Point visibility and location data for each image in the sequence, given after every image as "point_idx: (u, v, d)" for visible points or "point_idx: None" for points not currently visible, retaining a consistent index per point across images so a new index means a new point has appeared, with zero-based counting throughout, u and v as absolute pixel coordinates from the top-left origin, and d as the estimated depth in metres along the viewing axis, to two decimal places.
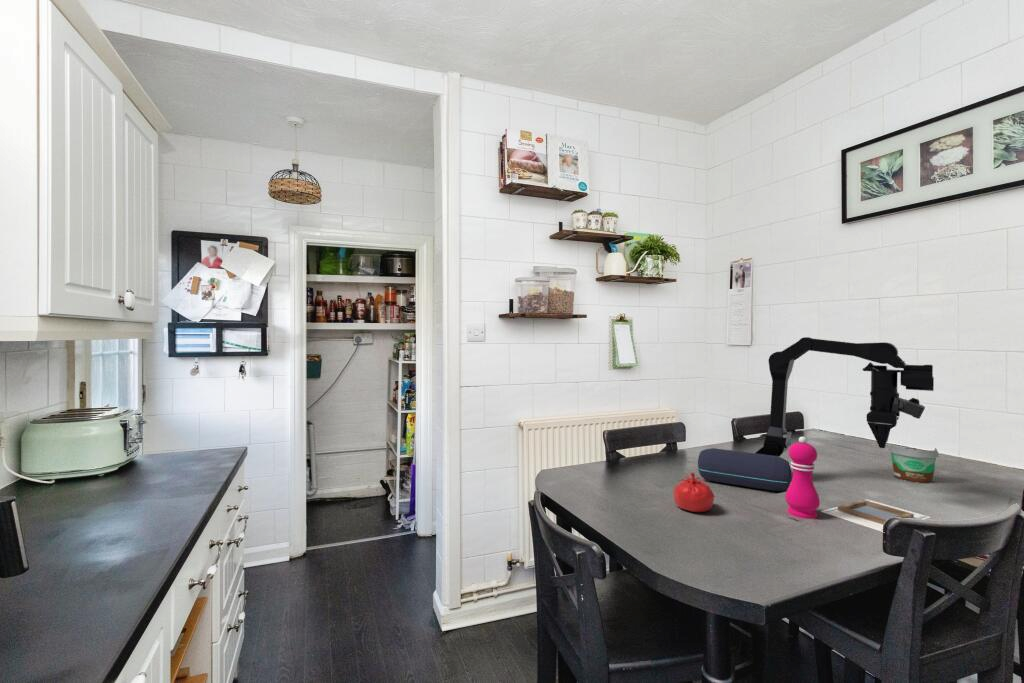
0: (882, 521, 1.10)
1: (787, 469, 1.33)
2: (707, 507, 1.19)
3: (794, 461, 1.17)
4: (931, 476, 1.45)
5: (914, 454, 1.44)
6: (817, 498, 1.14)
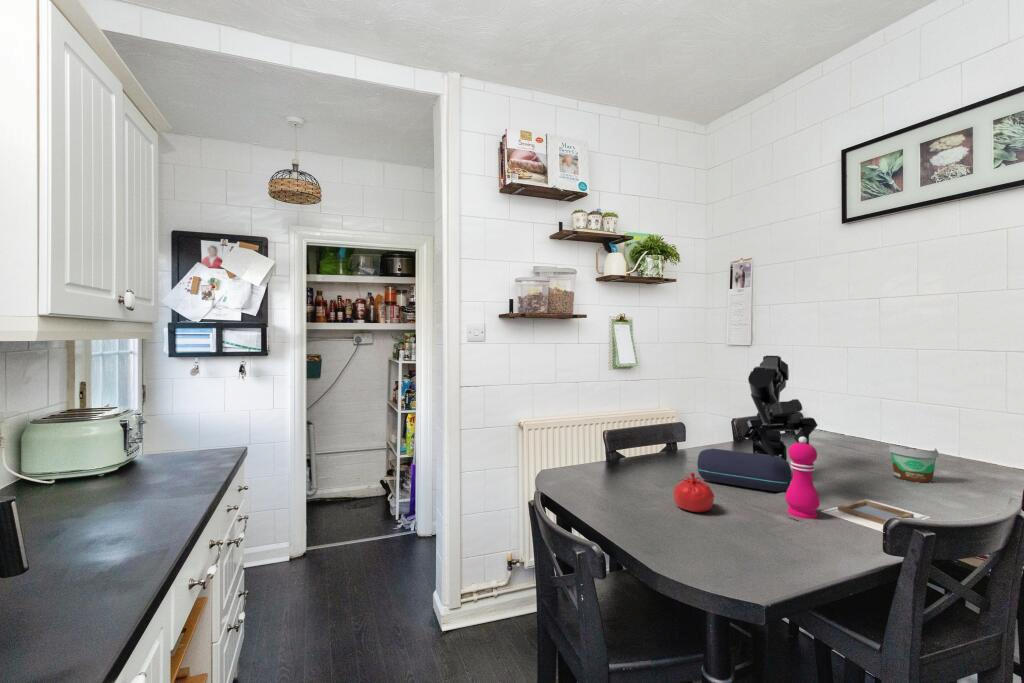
0: (882, 521, 1.10)
1: (787, 469, 1.33)
2: (707, 507, 1.19)
3: (794, 461, 1.17)
4: (931, 476, 1.45)
5: (914, 454, 1.44)
6: (817, 498, 1.14)
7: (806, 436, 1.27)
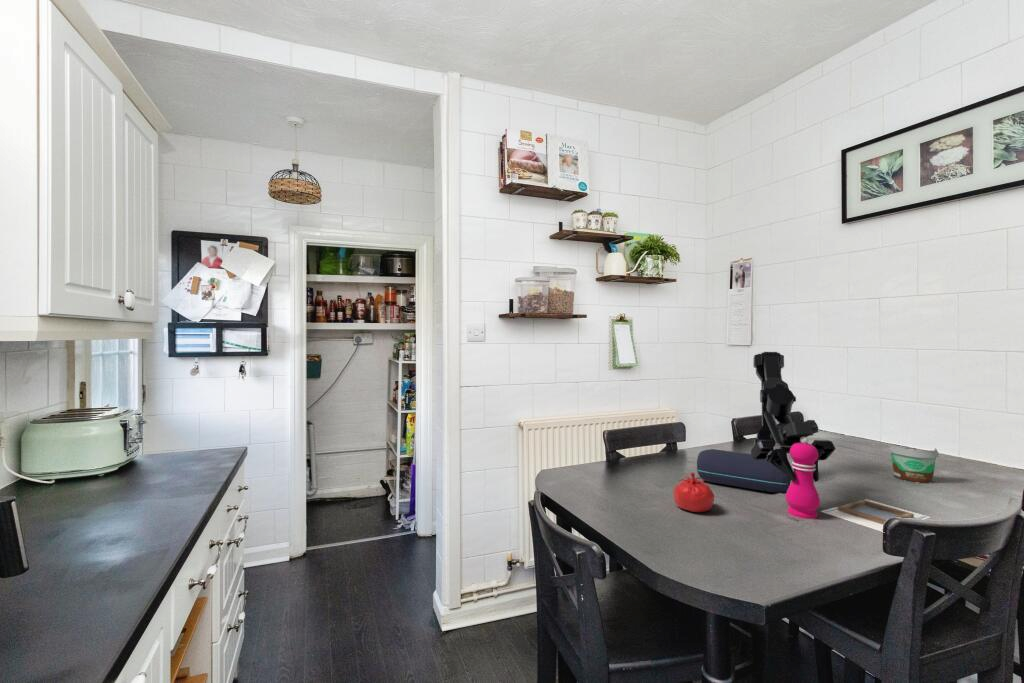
0: (882, 521, 1.10)
1: None
2: (707, 507, 1.19)
3: (795, 461, 1.17)
4: (931, 476, 1.45)
5: (914, 454, 1.44)
6: (817, 498, 1.14)
7: None
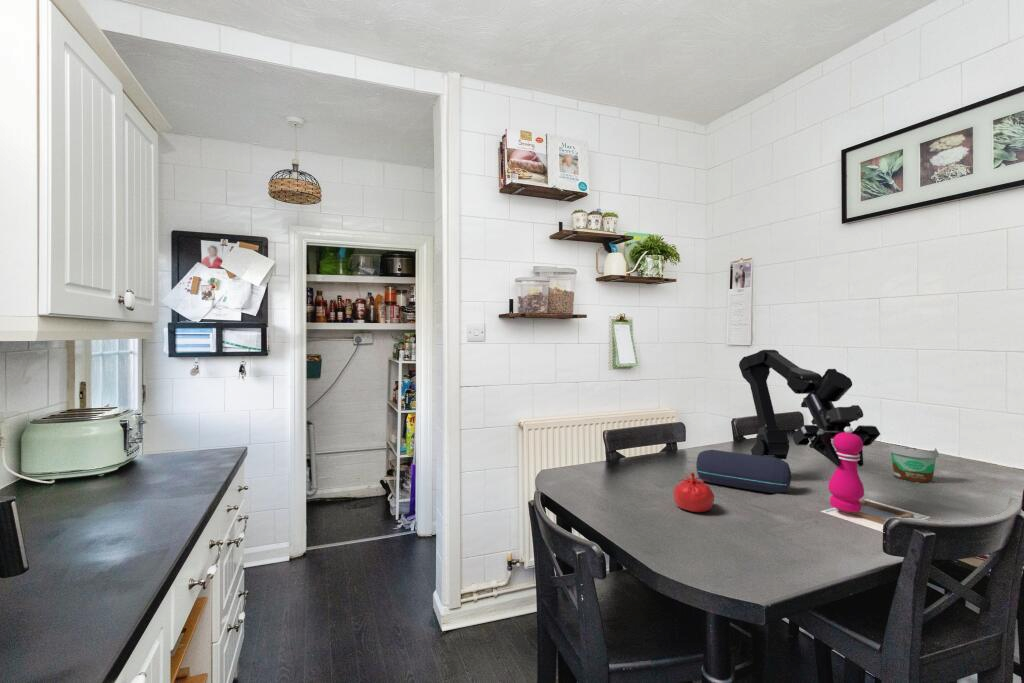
0: (882, 521, 1.10)
1: (786, 471, 1.31)
2: (707, 507, 1.19)
3: (839, 451, 1.16)
4: (931, 476, 1.45)
5: (914, 454, 1.44)
6: (862, 488, 1.14)
7: None
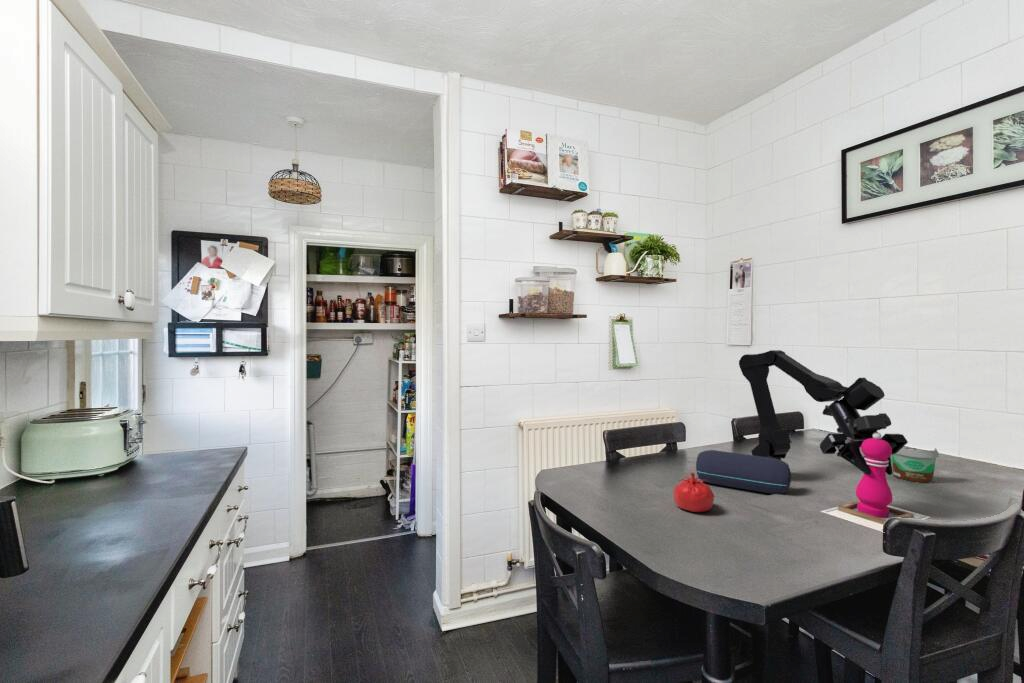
0: (882, 521, 1.10)
1: (786, 472, 1.31)
2: (707, 507, 1.19)
3: (867, 456, 1.16)
4: (931, 476, 1.45)
5: (914, 454, 1.44)
6: (890, 494, 1.14)
7: None
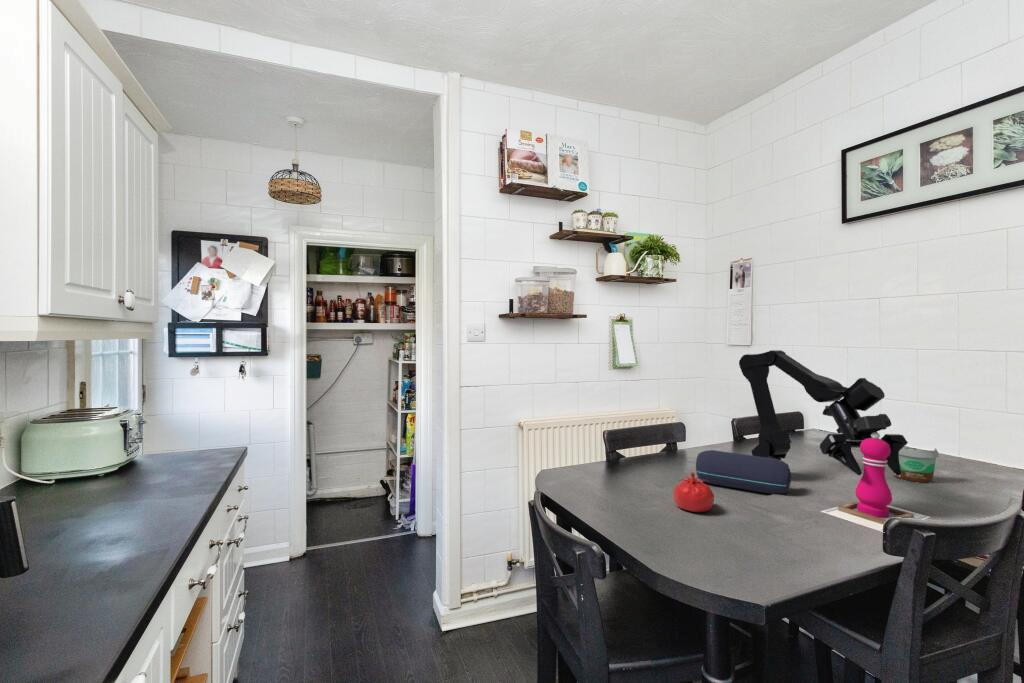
0: (882, 521, 1.10)
1: (786, 472, 1.30)
2: (707, 507, 1.19)
3: (866, 456, 1.17)
4: (931, 476, 1.45)
5: (914, 454, 1.44)
6: (890, 493, 1.14)
7: (895, 455, 1.17)
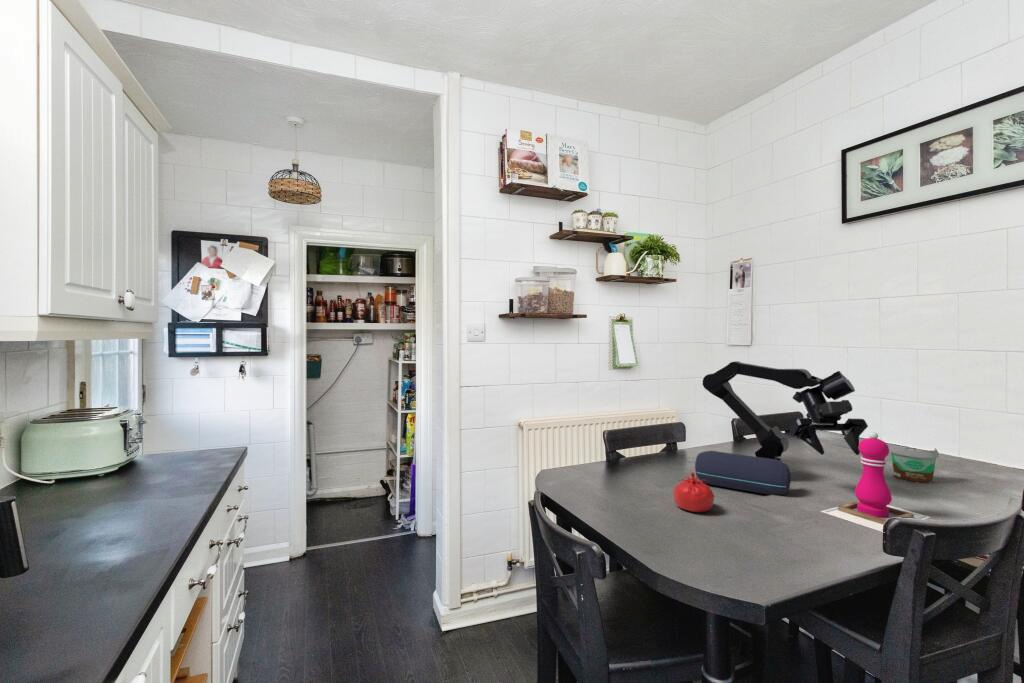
0: (882, 521, 1.10)
1: (786, 473, 1.29)
2: (707, 507, 1.19)
3: (865, 456, 1.17)
4: (931, 476, 1.45)
5: (914, 454, 1.44)
6: (889, 493, 1.14)
7: (856, 436, 1.30)
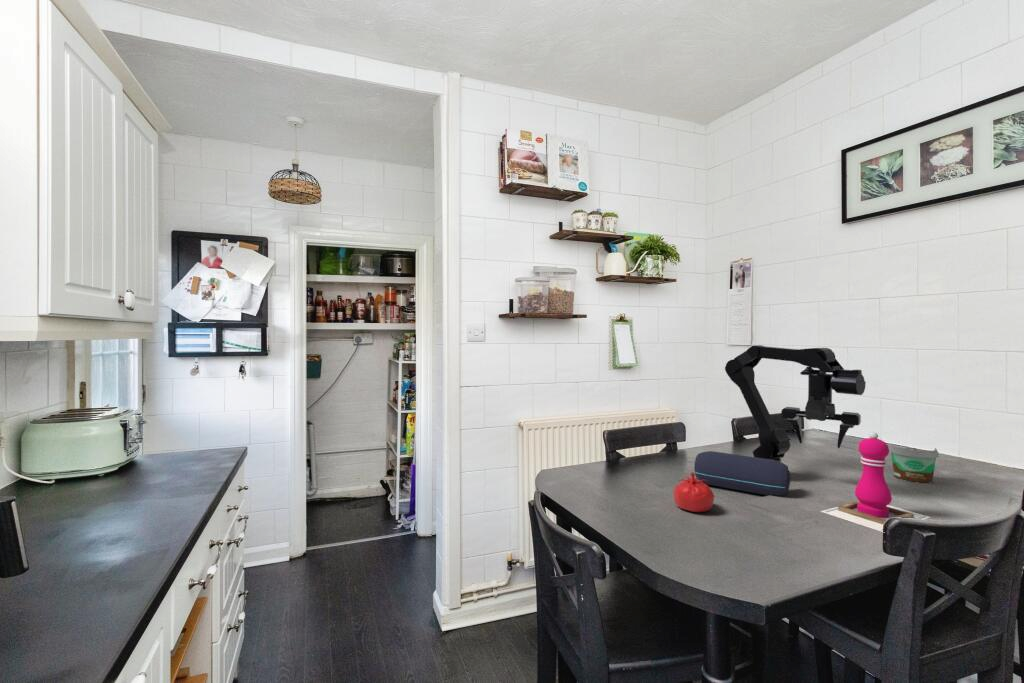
0: (882, 521, 1.10)
1: (785, 474, 1.29)
2: (707, 507, 1.19)
3: (865, 456, 1.17)
4: (931, 476, 1.45)
5: (914, 454, 1.44)
6: (889, 493, 1.14)
7: (841, 432, 1.33)
